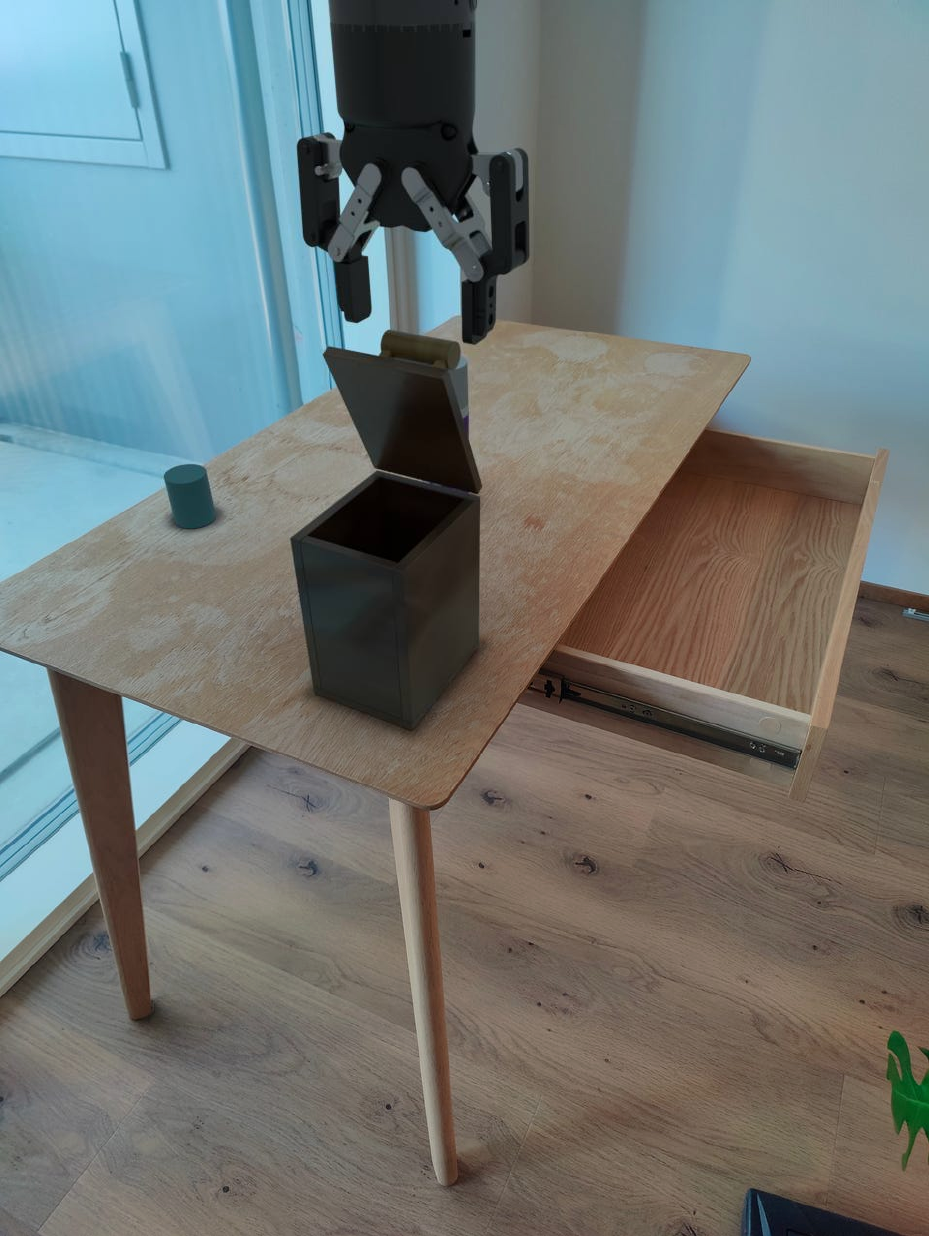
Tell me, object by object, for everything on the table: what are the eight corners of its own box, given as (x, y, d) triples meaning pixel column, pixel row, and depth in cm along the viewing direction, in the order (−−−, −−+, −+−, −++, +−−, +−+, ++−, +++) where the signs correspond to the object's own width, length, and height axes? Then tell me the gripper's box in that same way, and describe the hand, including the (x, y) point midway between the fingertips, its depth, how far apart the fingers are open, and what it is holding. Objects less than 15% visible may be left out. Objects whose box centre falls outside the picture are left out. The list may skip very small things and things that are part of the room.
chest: (412, 731, 60) (402, 572, 51) (313, 693, 63) (289, 537, 54) (479, 647, 67) (480, 496, 59) (388, 617, 70) (376, 469, 62)
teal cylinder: (181, 533, 81) (170, 487, 78) (169, 515, 84) (158, 470, 81) (221, 521, 83) (212, 476, 80) (208, 504, 85) (198, 460, 82)
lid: (442, 378, 49) (478, 319, 51) (322, 354, 52) (359, 299, 54) (478, 494, 58) (506, 441, 60) (373, 468, 61) (404, 418, 63)
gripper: (246, 15, 43) (288, 330, 53) (495, 19, 38) (490, 369, 48) (330, 10, 48) (354, 298, 58) (559, 13, 43) (542, 329, 53)
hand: (415, 329), depth 53 cm, fingers open, 8 cm apart
